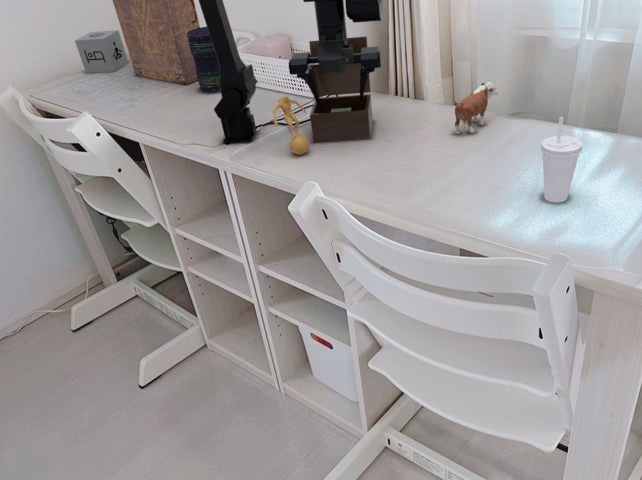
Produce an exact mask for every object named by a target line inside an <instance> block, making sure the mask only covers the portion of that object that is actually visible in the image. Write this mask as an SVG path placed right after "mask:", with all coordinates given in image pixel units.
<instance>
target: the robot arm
mask: <svg viewBox="0 0 642 480" xmlns="http://www.w3.org/2000/svg"><path fill="white" fill-rule="evenodd" d="M302 1H303V2H304V3H313V4H314V12H315V20H316V21H315V22H316V29H317V36H318V37H317V38H318V40H319V45H318V57H311V53H310V51H308V52H306V51H305V52H295V53H293V54H292V55H291V57H290V59H289V61H288V70H289V71H288V72H289V75H292V76H294V75H295V76H296V78H298V79H302V80H303V81H304V82H305V83H306V85H307V86H308V88H309V90H310V91H311V94H312V96H313V98H314V101H315V100H316V102H317V104H320V98H321V96H319V91H318V86H317V81H316V77H315V71H314V67H320V72H321V73H322V74H327V73H332V72H336V73H341V72H343V71H344V65H346V64H356V63H361V70H360V93H359V95H360V101H362V100H363V95H364V94H365V93H364V90H365V85H366V81H367V79H368V76H369V77H370V73H374V72H375V71H376V69H379V68H381V67H382V60H383V59H382V57H383V56H382V49H381V48H380V47H379V46H378V45H377V46H367V47H365V48H362V49H361V53H356V54H353V47H352V44H348V41H347V38H348V32H347V31H348V30H347V23H346V18H348V19H349V21H352V23H356V24H357V23H370V22H382V21H383V19H384V0H302ZM198 3H199V7H200V9H201V12H202V15H203V18H204V23H205V25H206V27H207V28H208V31H209V34H210V38H211V41H212V44H213V47H214V50H215V53H216V56H217V59H218V62H219V67H220V73H219V83H220V90H221V92H220V96H221V98H220V100H219V101H218V103H217V104H216V105H215V107H214V108H213V111H214V113H215V115H216V116H217V118H218V119H220V123H221V127H222V132H223V137H224V138H223V140H222V143H223V144H236V143H249V142H252V141H253V139H254V137H255V135H256V133H257V127H256V121H255V117H254V114H253V113H251V109H250V107H249V106H248V105H250V104H251V99H252V98H253V96H254V95H255V93H256V91H257V84H258V83H259V82H258V80H257V78H256V77H255V74H254V67H253V64H252V63H251V64H248V65H246V64H245V62H244V61H243V60H242V59H241V57H240V53H239V51H238V47H237V43H236V40H235V38H234V37H235V36H234V34H233V30H232V28H231V24H230V20H229V16H228V14H227V10H226V7H225V3H224V0H198Z"/></svg>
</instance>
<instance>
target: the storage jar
mask: <svg viewBox="0 0 642 480" xmlns="http://www.w3.org/2000/svg"><path fill="white" fill-rule="evenodd" d="M192 23H196V21H192ZM187 37H188V42H189V47H190V50H191V54H192V56H193V58H194V62H195V66H196V75H197V82H198V85H199V90H200V92H201V93H204V94H217V93H218V94H219V93H221V90H220V83H219V73H220V67H219V62H218V59H217V56H216V53H215V50H214V47H213V44H212V41H211V38H210V34H209V31H208V28H207V26H200V28H197V29H193V30H191V31H189V32H187Z"/></svg>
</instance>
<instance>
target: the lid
mask: <svg viewBox="0 0 642 480" xmlns="http://www.w3.org/2000/svg"><path fill="white" fill-rule="evenodd" d="M347 41H348V44H352V47H353V54H356V53H361V49H362V48H365V47H368V36H366V35H365V36H354V37H347ZM308 43H309V52H310V55H311V57H318V45H319V39H318V40H309V42H308ZM360 70H361V63H356V64H346V65H344V71H343V72H341V73H336V72H332V73H327V74H322V73H321V72H320V67H314V71H315V77H316V81H317V86H318V91H319V97H329V96H342V95H356V94H360ZM369 93H371V77H370V75H369V76H368V79H367V81H366V85H365V90H364V94H369Z"/></svg>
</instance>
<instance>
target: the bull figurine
mask: <svg viewBox="0 0 642 480" xmlns="http://www.w3.org/2000/svg"><path fill="white" fill-rule="evenodd" d="M497 95H499V90H498V89H497V88H496V85H495V84H494V83H493V82H491V81H487V82H486V83H485V82H482V83H481V84H480V85H479V86H478V87H477V88H476V89H475V90H473V91H472V92H471V93H470V94H469V95H468V96H466V97H465V98H463V99H461V100H460V101H459V102H457V104H456V106H455V107H454V115H455V122H454V128H455V130H454V134H455V135H460V134H461V131H460V129H459V126H460V123H462V124H463V127H464V129H465V131H468V132H469V133H471V134H474V133H476V130H475V129H474V128H473V126H472V121H473V122H476V123H477V122H478V124H479V125H480V126H485V123H484V117H485V113H486V110H487V107H488V105H489V99H491V98H492V97H493V96H497ZM477 116H479V120H478V117H477Z"/></svg>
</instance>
